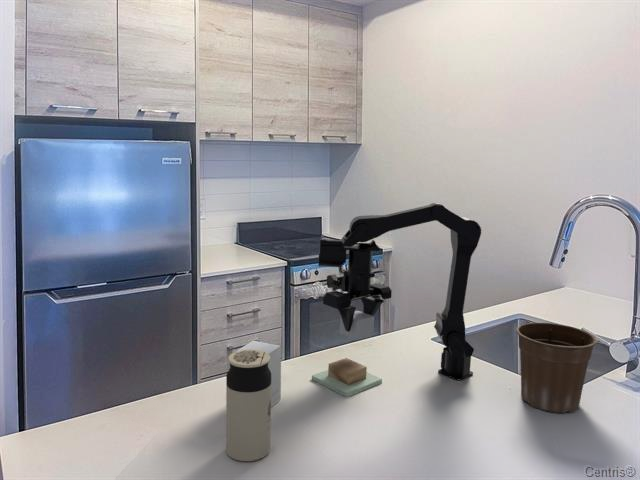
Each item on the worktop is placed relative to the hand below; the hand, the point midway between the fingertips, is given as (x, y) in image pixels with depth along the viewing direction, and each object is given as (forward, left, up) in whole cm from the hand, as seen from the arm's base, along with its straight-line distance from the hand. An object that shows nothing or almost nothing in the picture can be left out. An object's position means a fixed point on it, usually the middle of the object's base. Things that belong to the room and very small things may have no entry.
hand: (356, 328), depth 129 cm
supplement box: (+1, +29, -11) cm, 31 cm away
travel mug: (-13, +41, -11) cm, 44 cm away
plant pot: (-39, -23, -11) cm, 47 cm away
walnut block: (-3, +6, -10) cm, 12 cm away
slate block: (0, 0, -2) cm, 2 cm away
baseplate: (-3, +6, -11) cm, 13 cm away
